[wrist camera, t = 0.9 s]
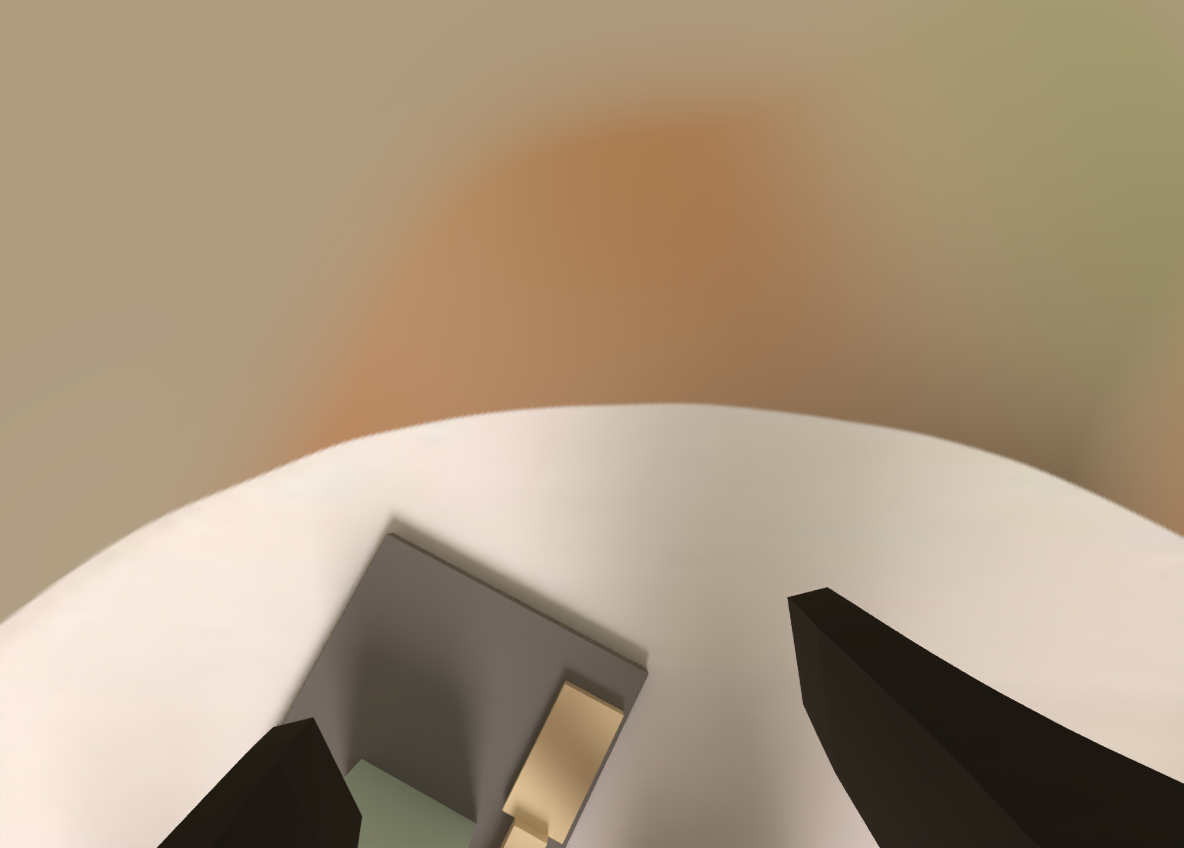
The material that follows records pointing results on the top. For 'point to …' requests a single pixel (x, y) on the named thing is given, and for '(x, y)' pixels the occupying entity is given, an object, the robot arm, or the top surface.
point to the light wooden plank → (560, 768)
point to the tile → (403, 813)
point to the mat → (451, 684)
